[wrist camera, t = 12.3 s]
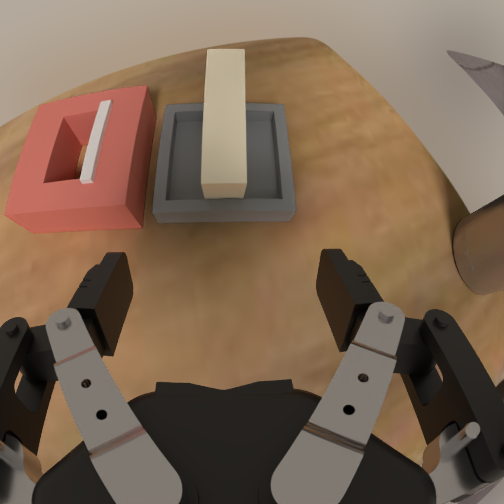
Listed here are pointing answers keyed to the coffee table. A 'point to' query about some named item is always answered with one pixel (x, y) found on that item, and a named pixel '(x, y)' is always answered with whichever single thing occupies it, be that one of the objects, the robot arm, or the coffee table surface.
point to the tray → (258, 169)
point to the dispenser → (85, 163)
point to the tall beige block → (224, 126)
